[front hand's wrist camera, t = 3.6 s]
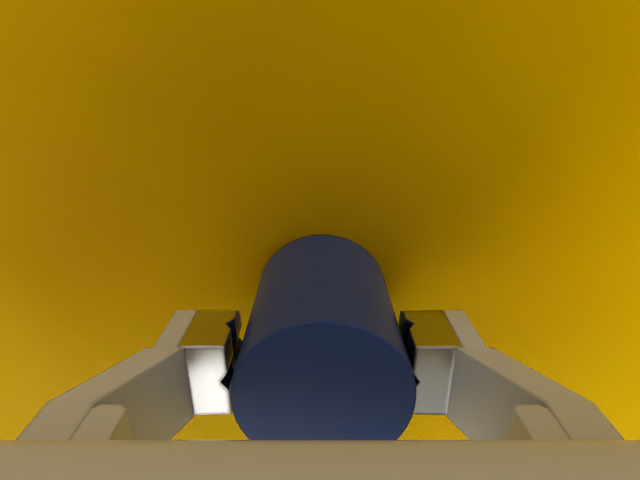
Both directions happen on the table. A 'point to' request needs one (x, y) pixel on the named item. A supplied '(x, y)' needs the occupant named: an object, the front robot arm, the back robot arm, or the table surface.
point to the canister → (322, 349)
